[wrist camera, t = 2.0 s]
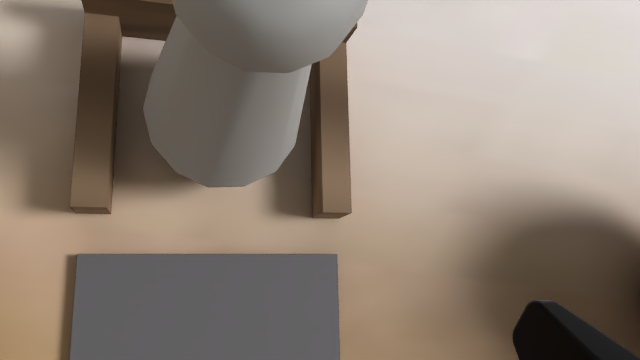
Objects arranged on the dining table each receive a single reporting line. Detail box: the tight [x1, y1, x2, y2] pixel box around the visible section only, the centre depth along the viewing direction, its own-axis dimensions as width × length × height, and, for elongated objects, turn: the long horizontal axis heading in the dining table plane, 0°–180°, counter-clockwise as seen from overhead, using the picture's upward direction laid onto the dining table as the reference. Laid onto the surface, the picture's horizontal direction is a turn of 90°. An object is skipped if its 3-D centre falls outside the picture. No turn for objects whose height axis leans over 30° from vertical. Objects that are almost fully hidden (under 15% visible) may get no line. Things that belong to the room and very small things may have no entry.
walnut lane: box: [70, 0, 357, 218], centre depth 21 cm, size 8×10×3 cm
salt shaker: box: [143, 0, 368, 187], centre depth 16 cm, size 6×6×13 cm
